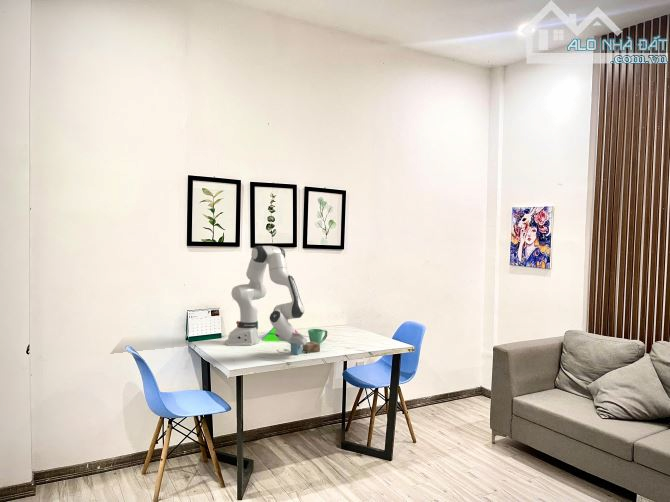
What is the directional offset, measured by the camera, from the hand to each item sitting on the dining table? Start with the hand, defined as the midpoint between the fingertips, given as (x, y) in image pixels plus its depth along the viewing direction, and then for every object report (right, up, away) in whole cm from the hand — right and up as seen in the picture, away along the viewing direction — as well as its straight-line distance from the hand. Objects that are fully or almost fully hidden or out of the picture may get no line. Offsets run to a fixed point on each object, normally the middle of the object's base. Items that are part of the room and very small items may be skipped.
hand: (297, 345), depth 290 cm
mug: (+12, -4, +23) cm, 26 cm away
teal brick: (0, -5, 0) cm, 5 cm away
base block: (+8, -5, +6) cm, 11 cm away
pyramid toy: (-14, -4, +43) cm, 45 cm away
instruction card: (-7, -4, +6) cm, 11 cm away
